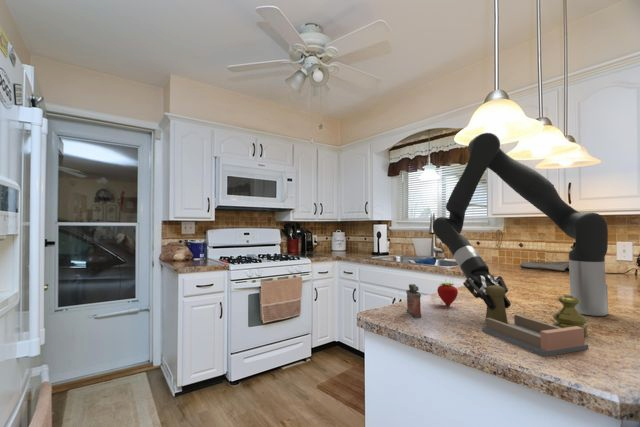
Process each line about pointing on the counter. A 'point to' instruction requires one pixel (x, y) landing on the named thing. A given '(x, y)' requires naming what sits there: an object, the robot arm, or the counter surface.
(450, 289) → the strawberry
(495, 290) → the cork
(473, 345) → the counter surface
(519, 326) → the guide track
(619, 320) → the counter surface
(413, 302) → the lighter
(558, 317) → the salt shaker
